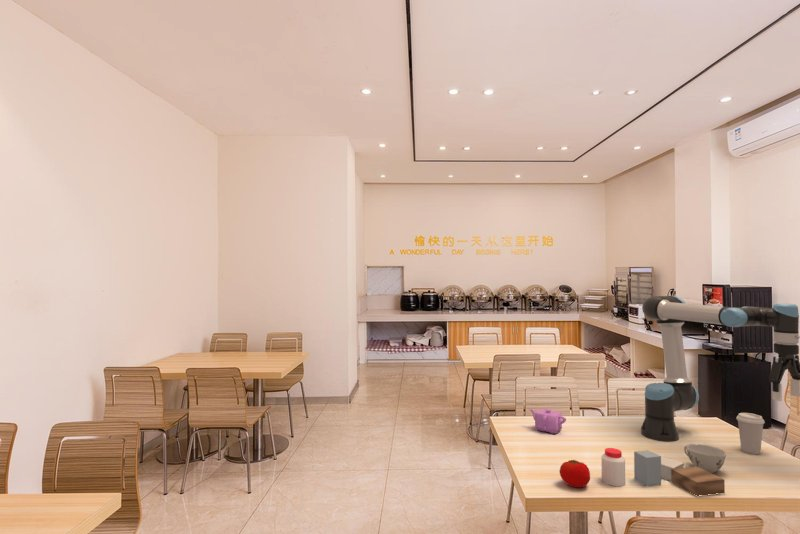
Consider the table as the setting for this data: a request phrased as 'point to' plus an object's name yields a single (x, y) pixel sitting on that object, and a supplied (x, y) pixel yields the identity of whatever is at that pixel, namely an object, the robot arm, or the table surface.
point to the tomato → (575, 473)
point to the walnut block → (697, 481)
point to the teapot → (548, 420)
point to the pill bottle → (613, 467)
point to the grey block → (669, 467)
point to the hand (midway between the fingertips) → (786, 398)
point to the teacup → (705, 456)
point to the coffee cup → (750, 432)
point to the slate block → (647, 468)
